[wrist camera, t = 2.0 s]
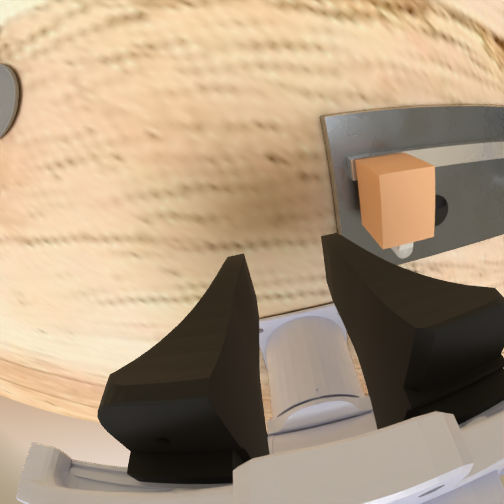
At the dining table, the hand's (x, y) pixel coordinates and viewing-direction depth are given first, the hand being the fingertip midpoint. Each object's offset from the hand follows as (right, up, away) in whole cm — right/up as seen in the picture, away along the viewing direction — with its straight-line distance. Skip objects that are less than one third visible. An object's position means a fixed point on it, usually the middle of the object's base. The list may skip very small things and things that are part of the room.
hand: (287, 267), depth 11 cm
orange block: (+7, +4, +8) cm, 12 cm away
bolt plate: (+16, +7, +9) cm, 20 cm away
